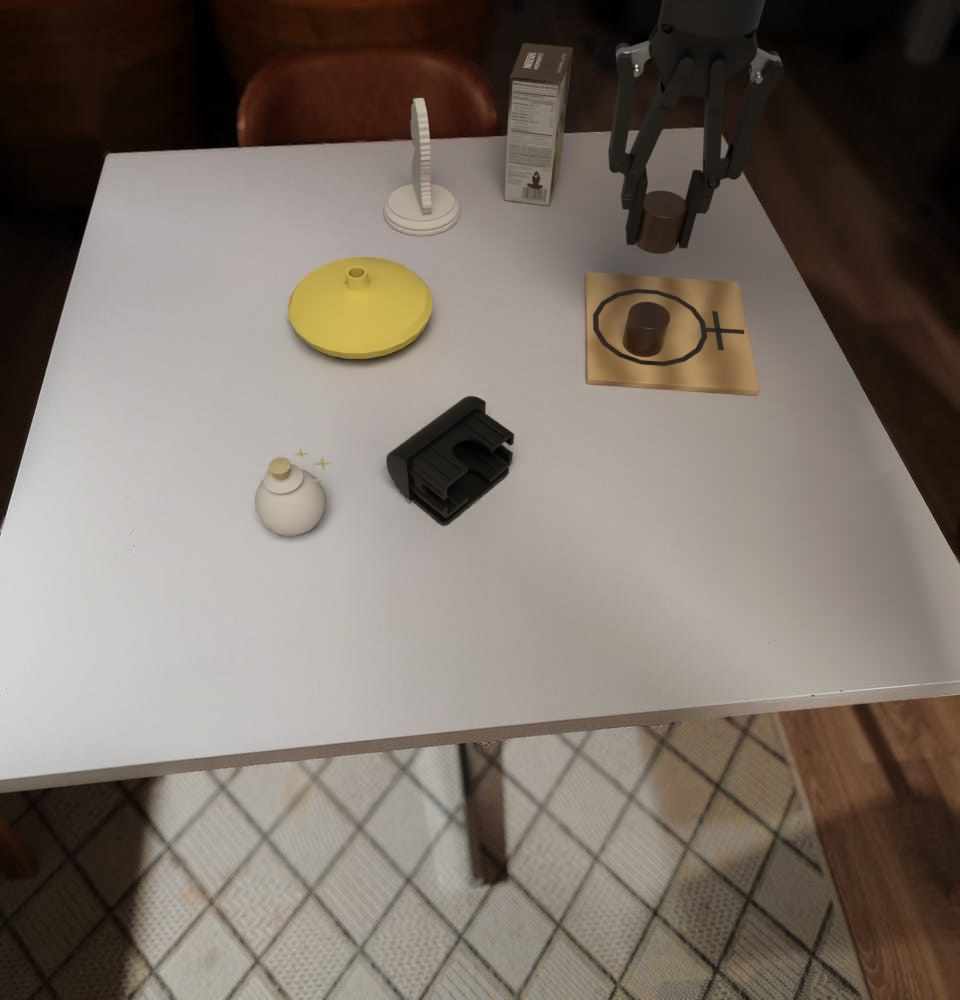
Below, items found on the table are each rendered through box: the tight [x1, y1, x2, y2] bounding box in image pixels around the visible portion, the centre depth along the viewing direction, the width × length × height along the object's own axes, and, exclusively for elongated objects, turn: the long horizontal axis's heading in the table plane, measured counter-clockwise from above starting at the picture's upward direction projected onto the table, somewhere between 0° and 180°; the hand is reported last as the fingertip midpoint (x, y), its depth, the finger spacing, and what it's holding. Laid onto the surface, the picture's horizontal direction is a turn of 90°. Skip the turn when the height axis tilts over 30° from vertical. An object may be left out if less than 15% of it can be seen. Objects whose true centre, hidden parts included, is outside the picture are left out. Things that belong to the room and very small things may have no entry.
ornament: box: [254, 448, 333, 537], centre depth 66 cm, size 6×7×10 cm
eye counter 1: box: [635, 190, 687, 255], centre depth 74 cm, size 4×4×4 cm
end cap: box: [385, 395, 515, 526], centre depth 71 cm, size 10×7×7 cm
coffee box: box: [503, 42, 574, 207], centre depth 97 cm, size 9×6×16 cm
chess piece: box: [383, 97, 461, 237], centre depth 93 cm, size 10×10×15 cm
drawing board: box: [584, 271, 761, 396], centre depth 86 cm, size 18×18×1 cm
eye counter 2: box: [622, 302, 670, 357], centre depth 83 cm, size 4×4×4 cm
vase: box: [286, 256, 433, 360], centre depth 83 cm, size 16×16×7 cm
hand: (656, 237), depth 75 cm, fingers closed on eye counter 1, 4 cm apart
